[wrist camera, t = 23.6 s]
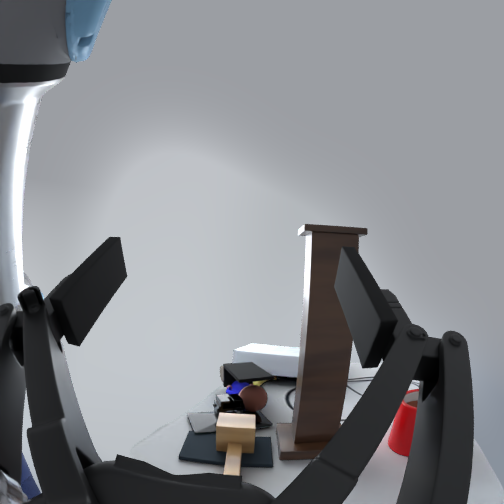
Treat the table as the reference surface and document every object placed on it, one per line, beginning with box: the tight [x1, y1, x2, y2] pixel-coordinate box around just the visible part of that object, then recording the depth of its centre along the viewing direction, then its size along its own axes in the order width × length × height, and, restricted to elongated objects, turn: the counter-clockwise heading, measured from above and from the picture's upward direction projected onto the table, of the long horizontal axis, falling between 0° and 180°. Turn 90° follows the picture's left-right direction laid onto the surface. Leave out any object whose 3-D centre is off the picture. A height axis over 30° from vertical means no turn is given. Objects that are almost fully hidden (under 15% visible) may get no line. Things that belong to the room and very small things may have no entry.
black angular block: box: [187, 394, 272, 434], centre depth 40 cm, size 12×7×5 cm, turn 111°
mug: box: [388, 389, 419, 456], centre depth 28 cm, size 8×12×8 cm, turn 1°
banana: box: [253, 376, 277, 386], centre depth 57 cm, size 8×2×4 cm
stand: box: [276, 224, 367, 460], centre depth 34 cm, size 8×10×31 cm
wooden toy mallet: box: [216, 413, 256, 475], centre depth 28 cm, size 13×5×4 cm, turn 179°
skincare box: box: [233, 343, 300, 378], centre depth 65 cm, size 21×5×16 cm
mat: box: [179, 431, 273, 467], centre depth 32 cm, size 12×7×1 cm, turn 89°
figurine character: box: [220, 362, 274, 412], centre depth 49 cm, size 7×8×15 cm
